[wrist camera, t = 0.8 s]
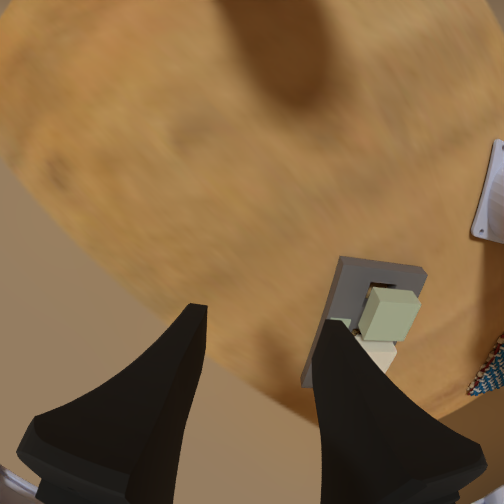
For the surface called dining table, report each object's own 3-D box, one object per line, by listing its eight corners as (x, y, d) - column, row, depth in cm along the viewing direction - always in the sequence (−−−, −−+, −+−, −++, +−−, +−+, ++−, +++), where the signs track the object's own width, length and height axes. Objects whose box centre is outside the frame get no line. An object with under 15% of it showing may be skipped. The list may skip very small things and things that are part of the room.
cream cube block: (386, 326, 22) (397, 352, 19) (372, 355, 23) (380, 380, 20) (349, 324, 21) (358, 351, 19) (337, 354, 23) (343, 380, 20)
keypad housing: (421, 266, 21) (428, 276, 19) (367, 379, 26) (370, 390, 25) (339, 256, 20) (344, 265, 19) (300, 377, 26) (301, 389, 25)
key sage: (405, 281, 20) (421, 304, 17) (390, 316, 21) (403, 341, 18) (367, 276, 20) (380, 301, 17) (354, 313, 21) (363, 340, 18)
